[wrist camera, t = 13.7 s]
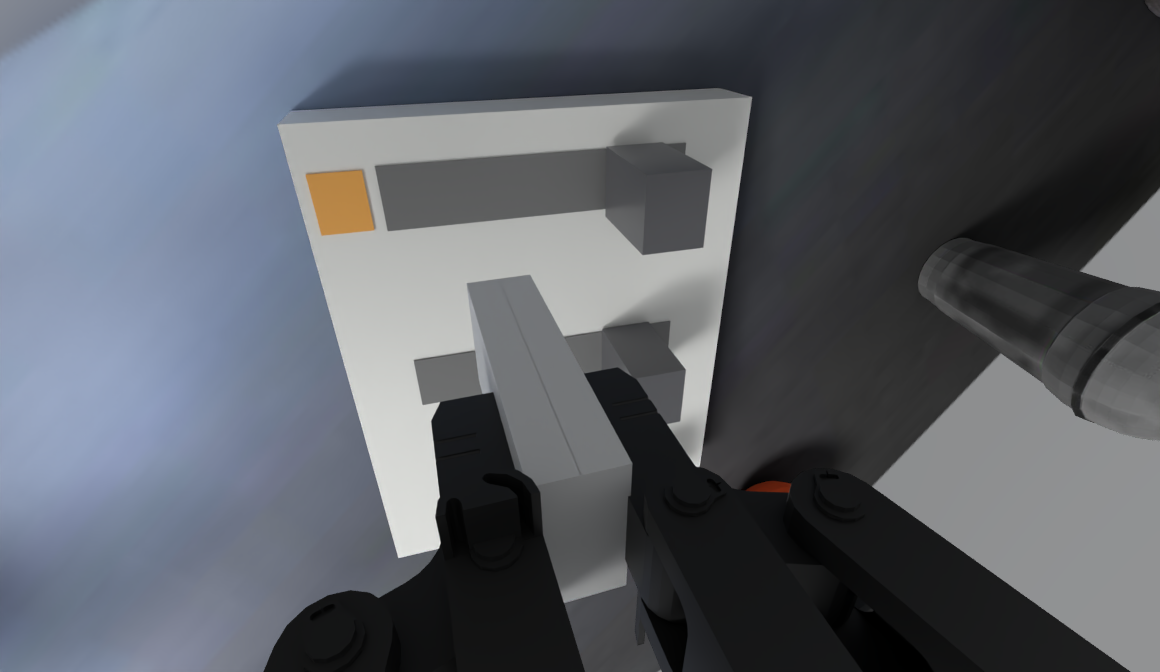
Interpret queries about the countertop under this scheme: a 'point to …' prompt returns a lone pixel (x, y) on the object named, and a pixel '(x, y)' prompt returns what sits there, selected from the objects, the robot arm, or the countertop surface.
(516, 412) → the robot arm
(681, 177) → the handle
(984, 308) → the beverage cup
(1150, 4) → the pillar candle
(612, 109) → the breaker panel
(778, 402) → the countertop surface
